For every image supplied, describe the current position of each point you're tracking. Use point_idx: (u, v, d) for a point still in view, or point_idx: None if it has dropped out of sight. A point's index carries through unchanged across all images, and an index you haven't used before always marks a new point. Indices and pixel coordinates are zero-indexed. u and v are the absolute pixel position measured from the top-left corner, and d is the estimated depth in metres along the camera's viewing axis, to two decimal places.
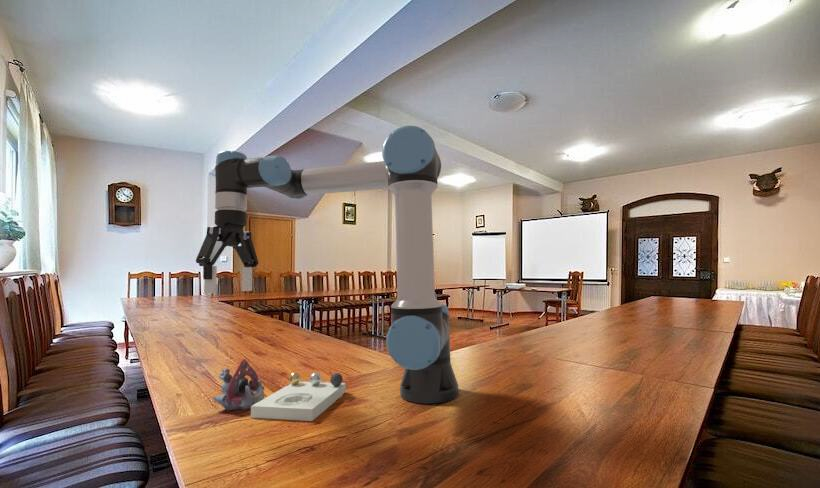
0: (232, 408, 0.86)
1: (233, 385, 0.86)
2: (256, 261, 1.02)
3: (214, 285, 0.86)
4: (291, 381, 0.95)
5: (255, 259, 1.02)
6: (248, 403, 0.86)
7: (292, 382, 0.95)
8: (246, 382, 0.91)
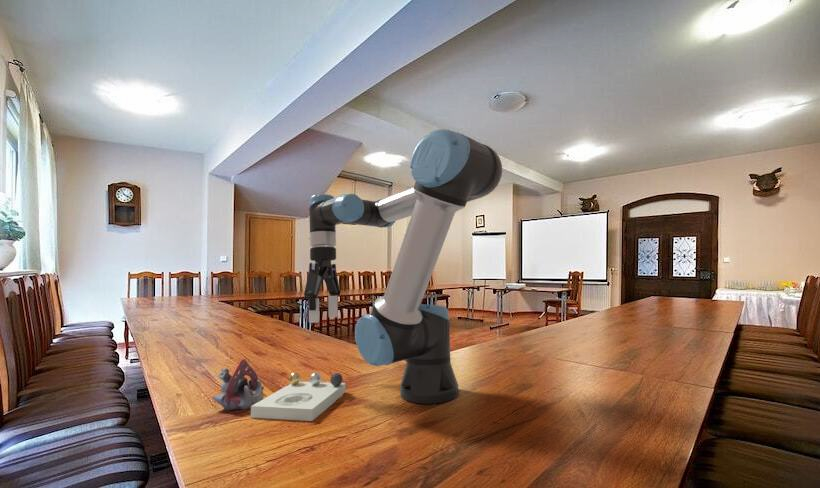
0: (231, 408, 0.86)
1: (232, 385, 0.86)
2: (339, 290, 1.14)
3: (318, 315, 0.98)
4: (291, 381, 0.95)
5: (338, 288, 1.14)
6: (247, 403, 0.86)
7: (292, 382, 0.95)
8: (245, 382, 0.91)
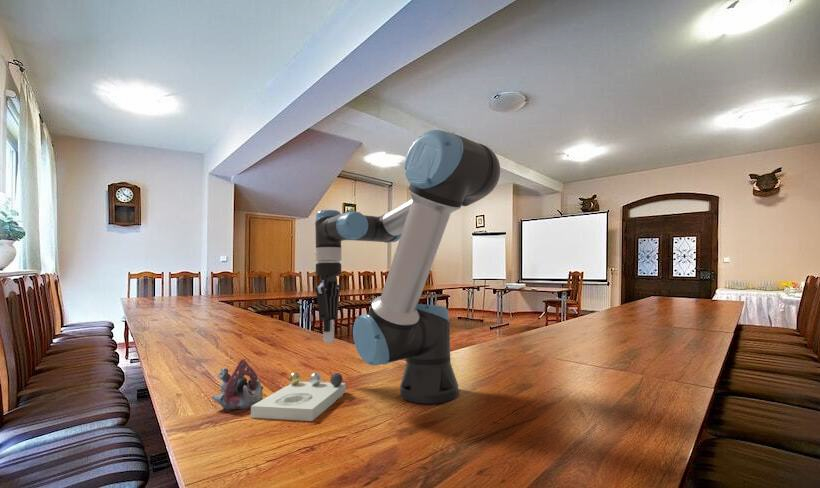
0: (230, 407, 0.86)
1: (231, 385, 0.86)
2: (336, 312, 1.09)
3: (332, 336, 1.05)
4: (291, 381, 0.95)
5: (336, 310, 1.09)
6: (246, 402, 0.86)
7: (292, 382, 0.95)
8: (245, 382, 0.91)
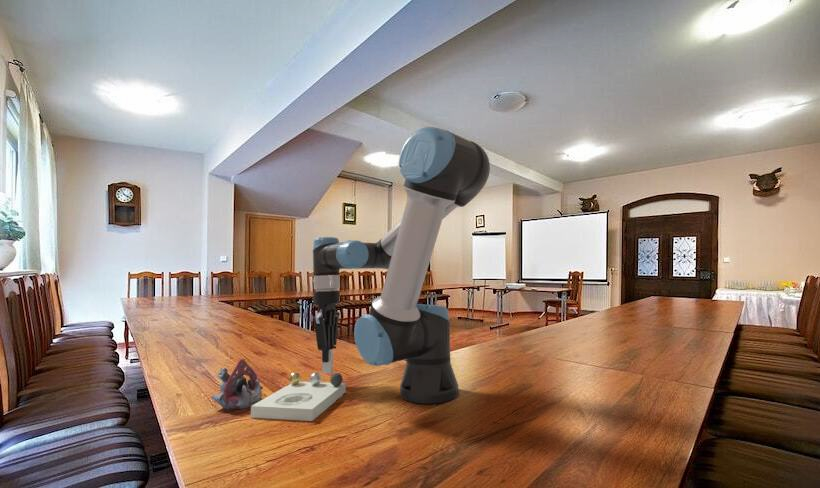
0: (229, 407, 0.86)
1: (230, 384, 0.87)
2: (335, 341, 1.06)
3: (330, 366, 1.02)
4: (291, 381, 0.95)
5: (335, 339, 1.06)
6: (245, 402, 0.86)
7: (292, 382, 0.95)
8: (244, 381, 0.91)
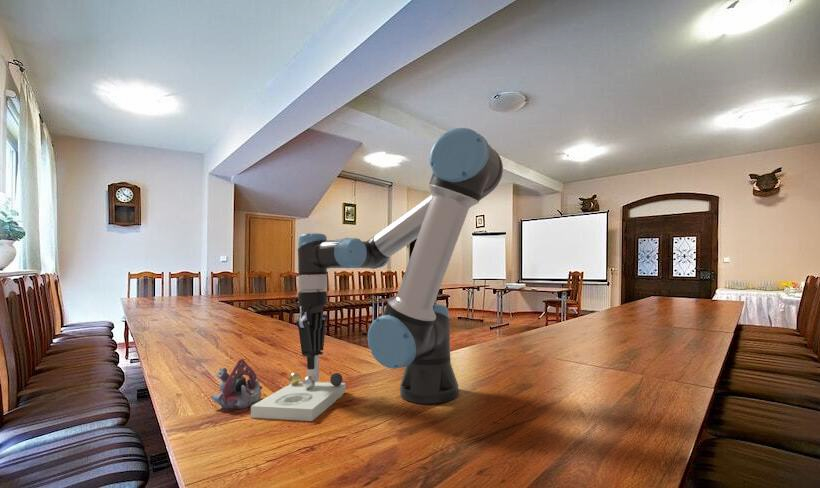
0: (228, 407, 0.86)
1: (229, 384, 0.87)
2: (322, 346, 0.98)
3: (316, 374, 0.94)
4: (291, 381, 0.95)
5: (322, 344, 0.98)
6: (244, 402, 0.87)
7: (292, 382, 0.95)
8: (244, 381, 0.92)
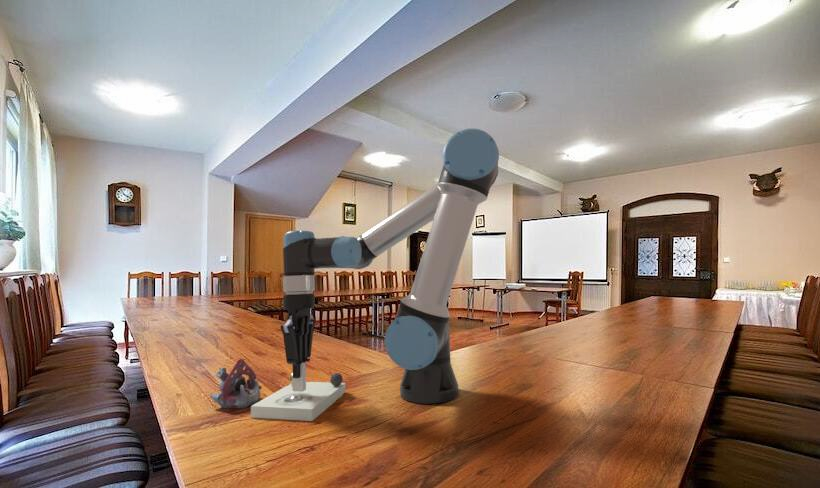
0: (227, 406, 0.87)
1: (228, 384, 0.87)
2: (309, 353, 0.91)
3: (303, 383, 0.87)
4: (291, 381, 0.95)
5: (309, 350, 0.91)
6: (243, 402, 0.87)
7: (292, 382, 0.95)
8: (243, 381, 0.92)
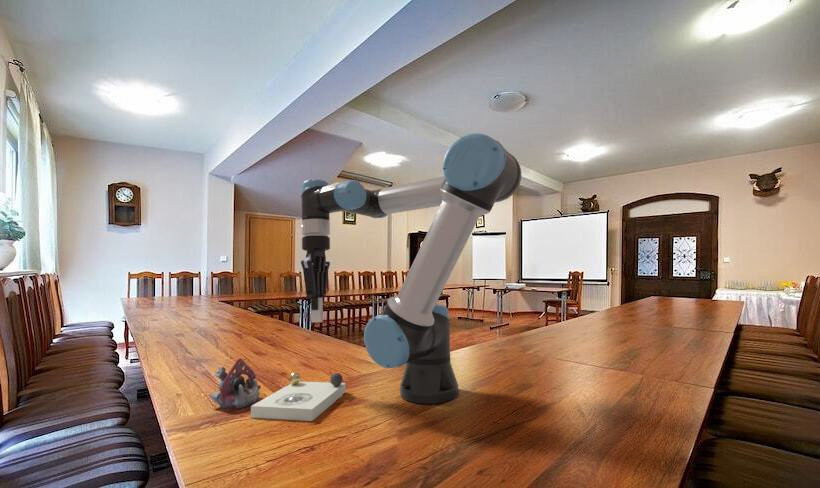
0: (226, 406, 0.87)
1: (227, 383, 0.87)
2: (325, 290, 1.01)
3: (320, 315, 0.97)
4: (291, 381, 0.95)
5: (325, 288, 1.01)
6: (242, 401, 0.87)
7: (292, 382, 0.95)
8: (242, 381, 0.92)
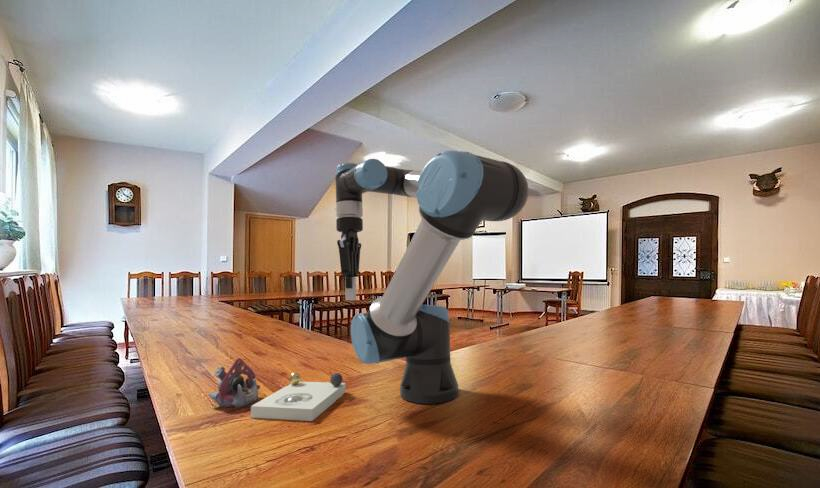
0: (225, 405, 0.88)
1: (226, 383, 0.88)
2: (358, 270, 1.05)
3: (354, 293, 1.01)
4: (291, 381, 0.95)
5: (357, 268, 1.05)
6: (240, 401, 0.87)
7: (292, 382, 0.95)
8: (241, 380, 0.92)
